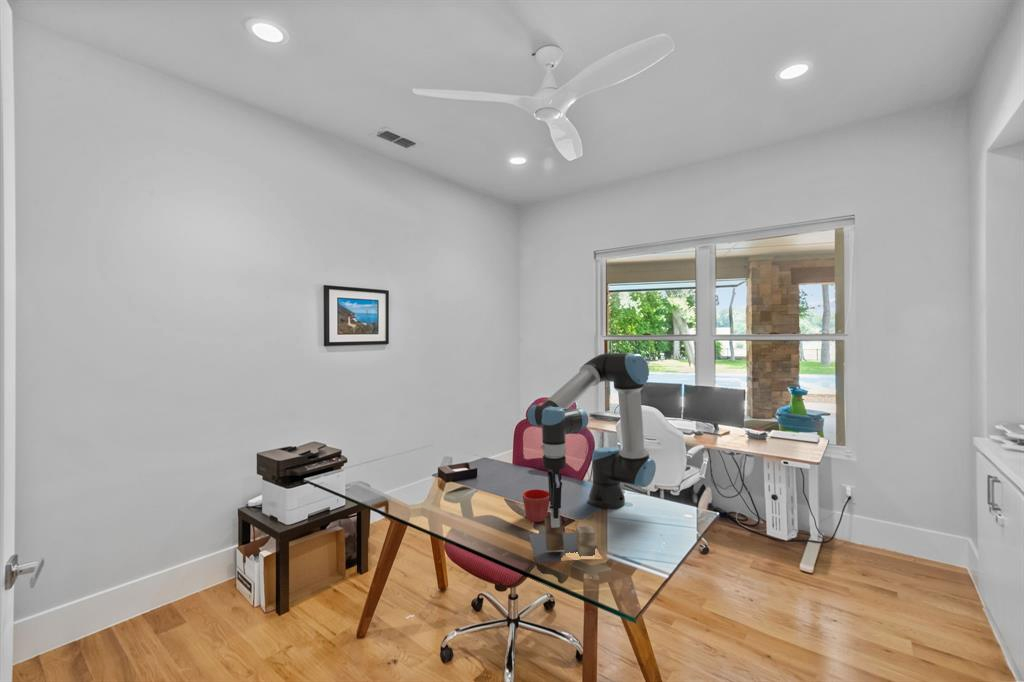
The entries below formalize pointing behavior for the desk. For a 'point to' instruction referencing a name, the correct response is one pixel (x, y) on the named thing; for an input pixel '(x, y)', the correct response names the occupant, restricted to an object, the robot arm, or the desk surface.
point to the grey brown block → (553, 536)
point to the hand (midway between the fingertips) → (555, 526)
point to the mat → (543, 556)
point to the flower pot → (536, 504)
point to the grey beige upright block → (585, 541)
